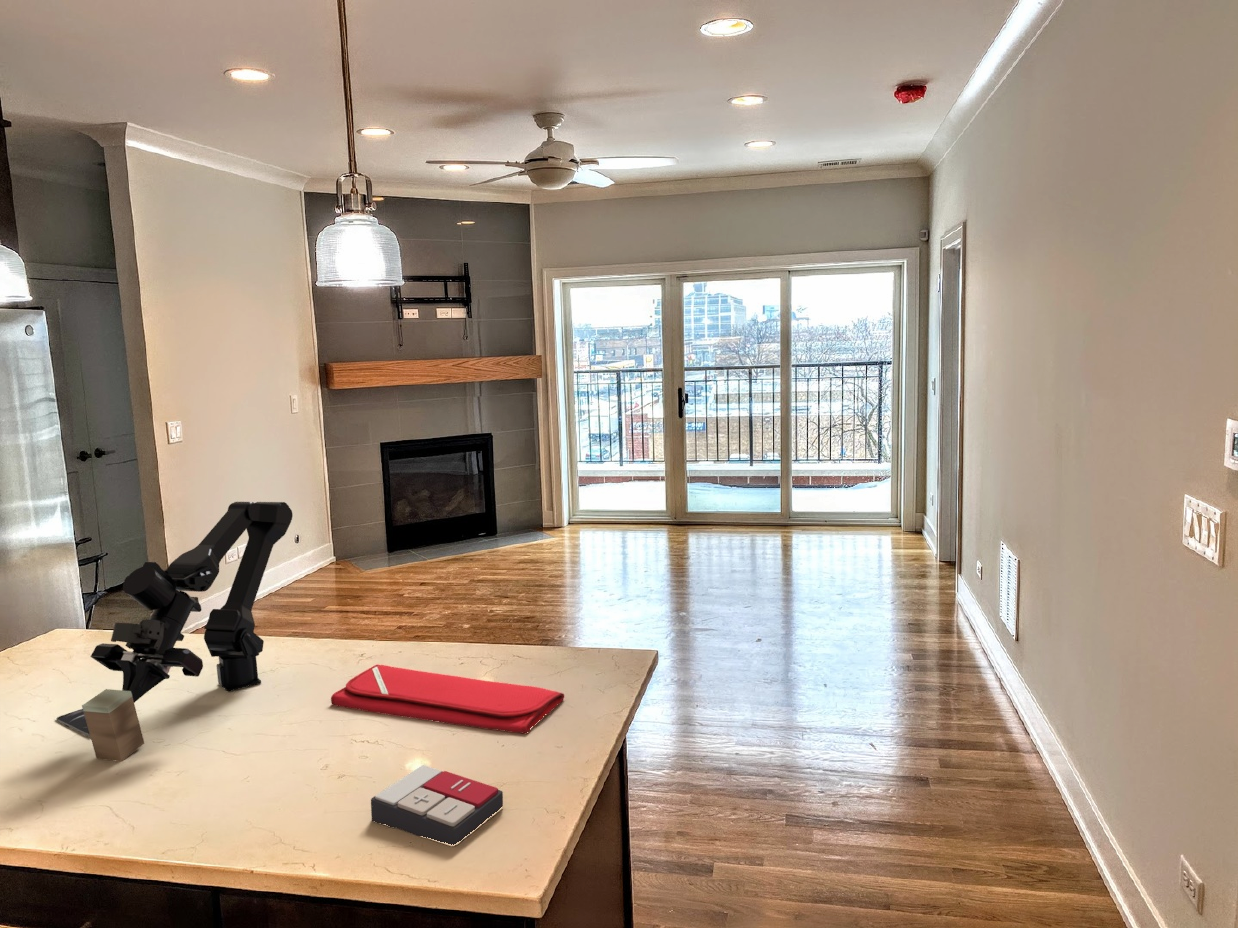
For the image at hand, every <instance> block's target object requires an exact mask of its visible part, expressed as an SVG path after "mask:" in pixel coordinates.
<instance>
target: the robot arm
mask: <svg viewBox="0 0 1238 928" xmlns="http://www.w3.org/2000/svg"><path fill="white" fill-rule="evenodd" d="M292 520H293V510H292V509H291V508H290V506H289V504H287V503H286V502H285V501H256V502H253V501H234V502H232V503H231V504H229V505H228V508H227V511H226V512H225V514H224V515H223V516H222V517H220V519H219V521H217V522H216V524H215V525H214V526H213V527H212V528H211V530H210V531H209V532H208V533H207V534H206V535H205V537H204V538H203V539H202V540H201V542H200V543H199V544H198V545H197V546H196V547H194V548H192V549H190V550H188V551H186V552H184V553H182V554H180V555H179V556H178V557H177V558H175V559H174V560H173V561H171V562H170V563H169V565H168V567H167V568H165V569H162V568H161V566H160V564H159V563H157V562H156V561H145V562H144V563H143V565H142V566H140V567H138V568H136V569H135V570H133V571H132V572H130V573H129V575H127V576H126V577H125V579H124V581H123V584H122V590H123V592H124V593H125V594H126V595H128V596H129V597H130V598H132V600H134V601H136V602H137V603H138V605H140V606H142V607H143V608H144V609H145V610H146V611H147V610H148V611H152V612H151V614H150V616H149V618H148V619H142V620H141V621H140V622H139V623H134V622H133V623H132V622H131V623H129V622H114V625H113V631H112V634H111V639H110V642H113V643H114V644H113V643H99V644H98V645H96V646H95V648H94V649H93V652H92V653H91V655H90V658H92V659H93V660H94V661H96V662H98V663H99V664H100V665H102V666H103V667H105V668H106V669H108V670H111V671H113V672H117V671H118V672H122V678H123V679H122V689H121V690H123V691H131V693H132V697H133V701H134V704H135V703H136V702H137V701H139V700H140V699H142V697H143V696H144V695H146V694H147V693H148V692H149V691H151V690H152V689H153V688H155V687H156V686H157V685H159V684H160V683H162V682H163V681H164V680H169V679H170V678H171V675H170V674H169V673H170V670H171V668H174V667H176V668H181V670H182V674H183V675H184V676H185V677H195V678H196V677H197V678H198V677H199V676H200V675H201V672H202V670H203V668H204V663H203V659H202V658H201V657H199V656H198V655H196V653H194V652H193V651H191V650H190V649H189V648H184V647H175V646H176V643H177V642H183V641H184V638H185V635H184V634H183V633H182V630H183V628H184V627H185V625H186V623H187V621H188V619H189V617H190V615H191V613H193V612H194V613H195V612H196V613H198V612H199V613H200V612H201V611H202V606H201V603H200V602H199V597H198V596H191V595H190V594H188V593H187V592H197V593H198V592H199V593H200V592H201V593H202V592H203V593H204V592H206V591H208V590H209V589H210V588H211V587H212V585H213V583H214V581H215V580H216V578H217V577H218V575H219V573H220V563H221V561H222V559H224V557H225V556H226V554H227V553H228V552H229V551H230V550H231V549H232V547H233V546H234V544H236V542H237V541H238V540H239V538H240V537H241V536H242V535H243V533H244V532H245V531H247V532H246V533H247V536H248V540H247V543H246V545H245V548H244V551H243V553H242V557H241V560H240V562H239V564H238V565H239V566H238V568H237V571H236V574H235V577H234V579H233V583H232V585H231V588H230V591H229V593H228V596H227V598H226V602H225V604H224V605H223V606H222V607H220V609H219V608H213V609H212V610H211V611H210V612H209V615H208V620H207V622H206V624H205V626H204V627H203V629H204V630H205V631H204V633H203V640H204V642H205V645H206V647H207V649H208V651H209V655H210V657H213V658H214V657H217V658H218V663H217V664H216V673H217V682H218V685H219V686H220V687H221V688H223V689H224V691H226V692H228V693H229V692H234V691H237V690H240V689H241V690H242V689H245V688H248V687H249V688H250V687H252V686H253V687H254V686H256V685H260V684H262V680H261V679H260V678H259V675H258V674H259V673H258V664H257V657H258V656H259V655H260V653H262V652H263V649H264V640H263V638H261V637H260V636H259V635H257V634H256V633H255V632H254V630H255V626H256V625H255V624H256V623H255V619H254V616H253V615H254V614H253V611H252V610H253V606H254V604H255V601H256V599H257V595H258V593H259V589H260V585H261V583H262V580H263V577H264V574H265V571H266V568H267V565H268V562H269V560H270V556H271V553H272V550H273V548H274V545H276V543H277V542H278V541H280V540H281V539H282V538H283V537H285V535H286V533H287V531H288V529H289V527H290V525H291V523H292ZM116 642H121V643H126V644H125V646H126V647H127V648H128V649H131V650H132V651H129V650H127V649H125V648H124V647H123V646H121V645H119V644H117V643H116Z"/></svg>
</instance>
